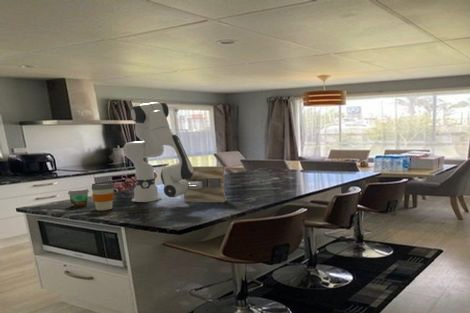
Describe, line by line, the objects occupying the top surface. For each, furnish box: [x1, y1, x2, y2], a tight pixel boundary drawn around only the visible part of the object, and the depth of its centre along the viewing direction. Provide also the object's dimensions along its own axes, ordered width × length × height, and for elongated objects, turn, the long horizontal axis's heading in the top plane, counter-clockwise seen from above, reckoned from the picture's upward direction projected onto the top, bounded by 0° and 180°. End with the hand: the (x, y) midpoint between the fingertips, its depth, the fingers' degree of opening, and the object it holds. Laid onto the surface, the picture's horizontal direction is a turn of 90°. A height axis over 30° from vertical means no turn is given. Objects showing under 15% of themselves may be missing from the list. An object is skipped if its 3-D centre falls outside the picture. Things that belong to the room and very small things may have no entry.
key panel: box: [183, 165, 227, 203], centre depth 226 cm, size 7×26×22 cm, turn 76°
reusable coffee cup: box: [91, 181, 115, 211], centre depth 214 cm, size 13×13×15 cm
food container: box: [67, 188, 90, 208], centre depth 225 cm, size 12×6×10 cm, turn 129°
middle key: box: [197, 178, 208, 187], centre depth 223 cm, size 5×6×5 cm
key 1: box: [186, 178, 196, 182], centre depth 227 cm, size 5×6×5 cm
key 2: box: [210, 178, 221, 187], centre depth 223 cm, size 5×6×5 cm
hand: (190, 183), depth 224 cm, fingers closed, pressing on key 1
